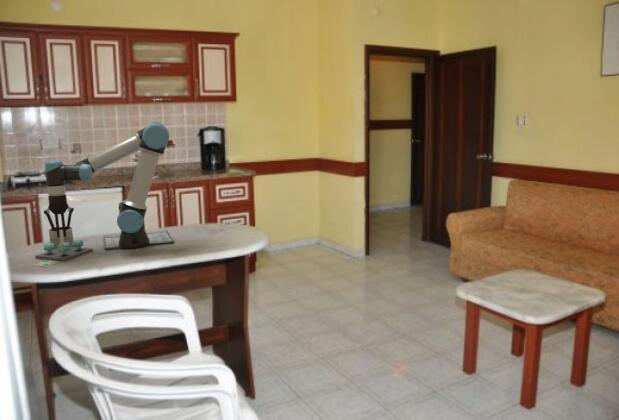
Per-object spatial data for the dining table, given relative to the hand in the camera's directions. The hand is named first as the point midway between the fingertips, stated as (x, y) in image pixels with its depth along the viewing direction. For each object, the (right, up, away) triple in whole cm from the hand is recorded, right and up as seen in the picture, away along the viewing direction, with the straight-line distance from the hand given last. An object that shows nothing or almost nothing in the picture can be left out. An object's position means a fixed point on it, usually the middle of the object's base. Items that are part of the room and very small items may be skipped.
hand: (62, 243), depth 244 cm
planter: (-11, -3, +23) cm, 25 cm away
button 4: (-8, -4, +4) cm, 10 cm away
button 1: (+3, -3, +9) cm, 10 cm away
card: (-5, -9, -7) cm, 12 cm away
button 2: (0, -5, +1) cm, 5 cm away
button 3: (-5, -4, +13) cm, 14 cm away
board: (-2, -6, +7) cm, 10 cm away
